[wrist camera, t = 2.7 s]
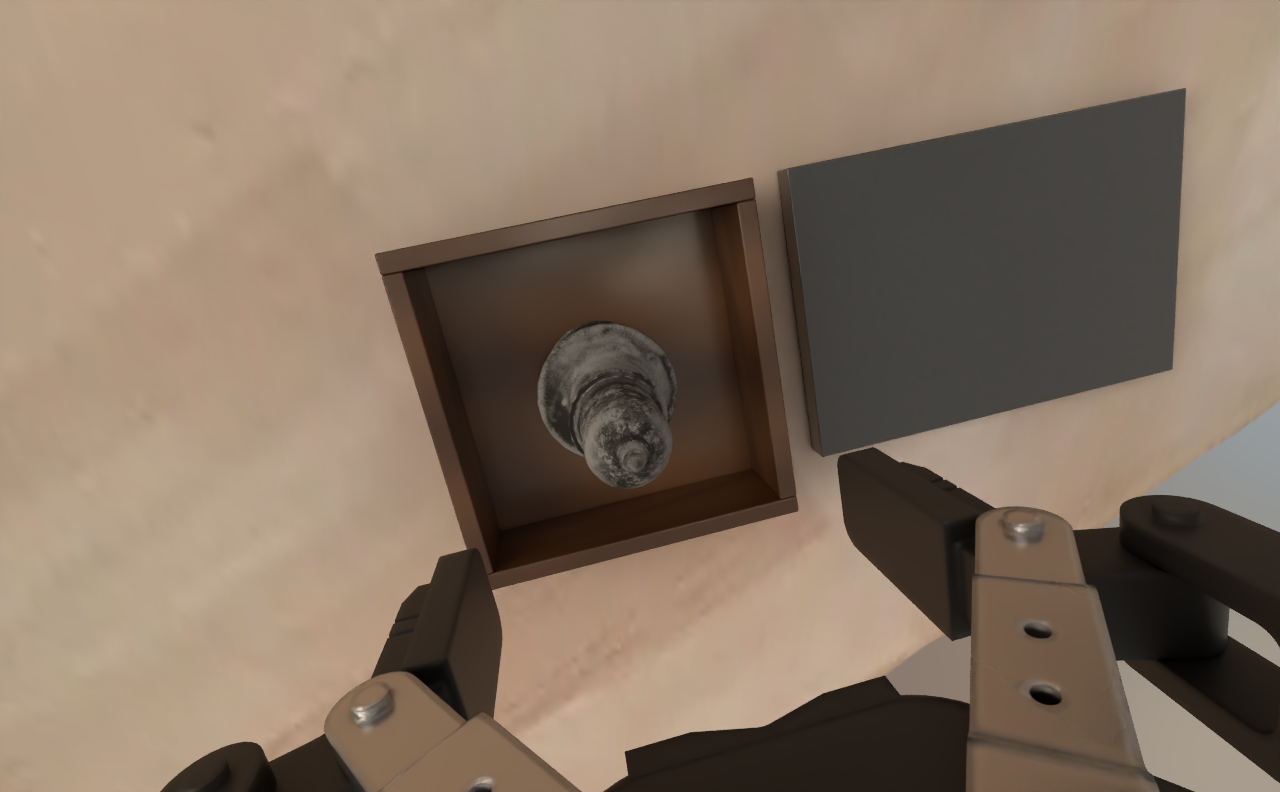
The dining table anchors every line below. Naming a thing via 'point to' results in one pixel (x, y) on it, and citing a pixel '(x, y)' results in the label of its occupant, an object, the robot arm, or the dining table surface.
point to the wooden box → (526, 334)
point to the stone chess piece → (610, 401)
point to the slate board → (985, 269)
